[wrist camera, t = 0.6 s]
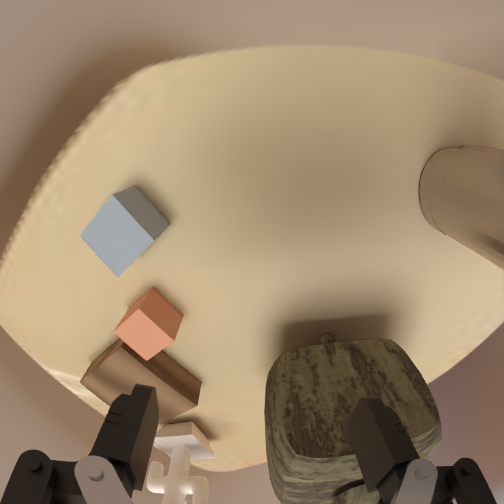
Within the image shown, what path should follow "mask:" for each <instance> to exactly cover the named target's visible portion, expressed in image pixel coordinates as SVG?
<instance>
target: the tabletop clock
mask: <svg viewBox="0 0 504 504" xmlns="http://www.w3.org/2000/svg"><path fill="white" fill-rule="evenodd" d="M334 341H335V339H334V337H333V336H332V335H331V334H329V333H326V334H324V335H322V336H321V338H320V343H321V345H313V346H306V347H299V348H295V349H291V350H289V351H286V352H283V353H282V354H281V355H280V357H279V358H278V359H277V360H276V361H275V362H274V364H273V366H272V367H271V369H270V371H269V374H268V378H267V382H266V393H265V410H264V414H265V434H266V454H267V461H268V468H269V474H270V480H271V483H272V487H273V490H274V492H275V495H276V496H277V498H278V499H279V501H280V502H281V504H374V503H375V501H376V499H377V497H378V496H379V492H378V491H375V492H371V493H368V491H367V488H366V485H365V482H364V479H363V476H362V473H361V470H360V467H359V464H358V461H357V458H356V455H355V452H354V449H353V446H352V444H351V441H350V438H349V435H348V431H347V425H348V421H349V418H350V417H351V415H352V413H353V411H354V409H355V407H356V405H357V403H358V400H359V399H360V398H361V397H369V396H379V397H380V398H381V399H382V401H383V403H384V405H385V406H389V407H390V408H391V409H392V410H394V411H395V412H396V413H397V414H398V416H399V418H400V420H401V422H402V425H403V426H404V428H405V429H406V430H405V431H406V432H407V433H408V435H409V437H410V439H411V441H412V443H413V445H414V447H415V449H416V451H417V453H418V455H419V456H420V458H421V459H427V458H428V457H429V455H430V454H431V453H432V451H433V450H434V449H435V447H436V446H437V445H438V443H439V442H440V440H441V439H442V438H441V422H440V418H439V412H438V409H437V405H436V403H435V400H434V398H433V396H432V394H431V392H430V390H429V388H428V386H427V384H426V382H425V380H424V379H423V377H422V375H421V373H420V372H419V370H418V369H417V368H416V366H415V365H414V363H413V362H412V361H411V359H410V358H409V356H408V355H407V354H406V352H405V351H404V350H403V349H402V348H401V347H400V346H399V345H398V344H396V343H395V342H394V341H392V340H390V339H365V340H355V341H344V342H335V343H334Z"/></svg>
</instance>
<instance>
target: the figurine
mask: <svg viewBox="0 0 504 504" xmlns="http://www.w3.org/2000/svg"><path fill="white" fill-rule="evenodd" d="M154 443H155V444H157V445H158V446H159V447H160V448H161V449H162V450H163V451H164V452H165V453H167V454H168V455H169V456H170V457H171V462H170V468H169V473H168V475H167V476H163V471H164V467H163V465H162V464H161V463H159V462H156V461H153V462H152V463H151V466H150V470H149V474H148V478H147V487H148V489H149V490H150V491H151V492H154V493H164V497H163V500H162V504H186V503H187V501H186V500H185V497H186V495H187V494H193V501H192V504H208V495H209V483H208V480H207V479H206V478H205V477H203V476H188V474H189V467H190V461H191V460H200V459H211V458H216V457H215V455H214V453H213V451H212V449H211V447H210V445H209V443H208V441H207V439H206V436H205V435H204V434H203V433H202V432H201V431H200V430H199V429H198V428H197V427H196V425H195V424H194V423H193V422H192V421H191V422H183V423H175V424H167V425H166V426H165V427H163V428H162V429H161V430H159V431H158V432H157V433H156V435H155V438H154Z"/></svg>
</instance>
